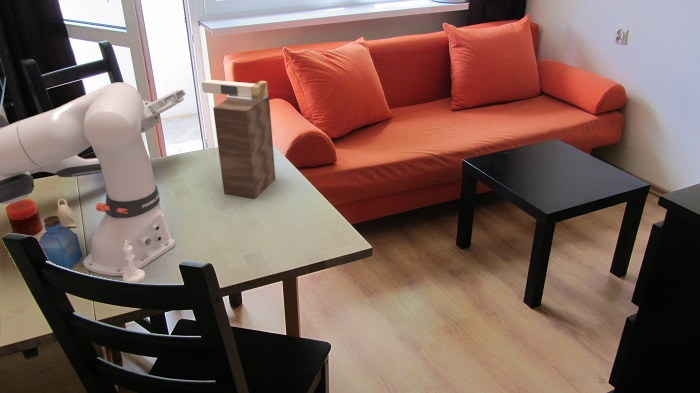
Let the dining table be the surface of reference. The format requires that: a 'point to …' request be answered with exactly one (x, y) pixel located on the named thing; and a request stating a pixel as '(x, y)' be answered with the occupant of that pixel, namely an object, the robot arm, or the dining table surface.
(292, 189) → the dining table surface
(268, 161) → the wooden block tower
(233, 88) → the bar
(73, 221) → the decorative ornament
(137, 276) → the chess piece
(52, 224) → the perfume bottle
